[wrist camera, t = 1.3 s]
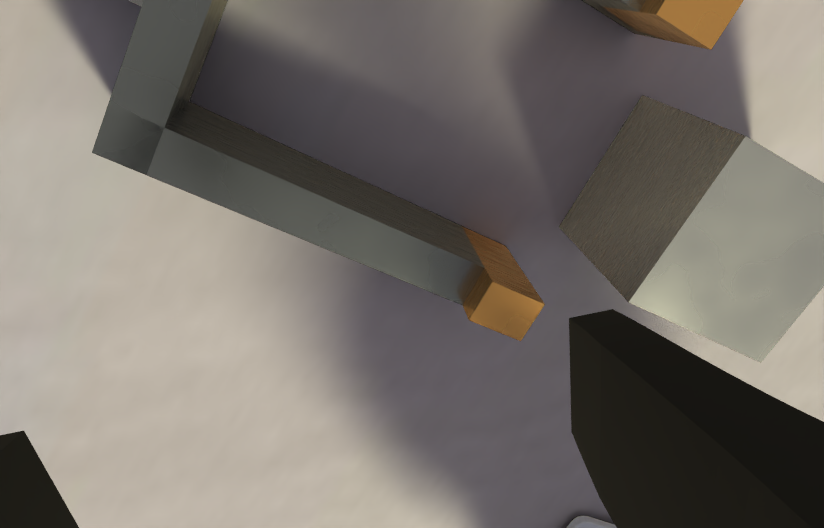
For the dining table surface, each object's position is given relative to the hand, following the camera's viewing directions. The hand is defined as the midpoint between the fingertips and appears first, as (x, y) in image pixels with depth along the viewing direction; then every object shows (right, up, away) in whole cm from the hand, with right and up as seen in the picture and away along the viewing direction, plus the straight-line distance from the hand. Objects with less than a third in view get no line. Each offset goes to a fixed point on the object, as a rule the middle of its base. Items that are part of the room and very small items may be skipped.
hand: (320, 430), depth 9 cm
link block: (+9, +4, +11) cm, 15 cm away
